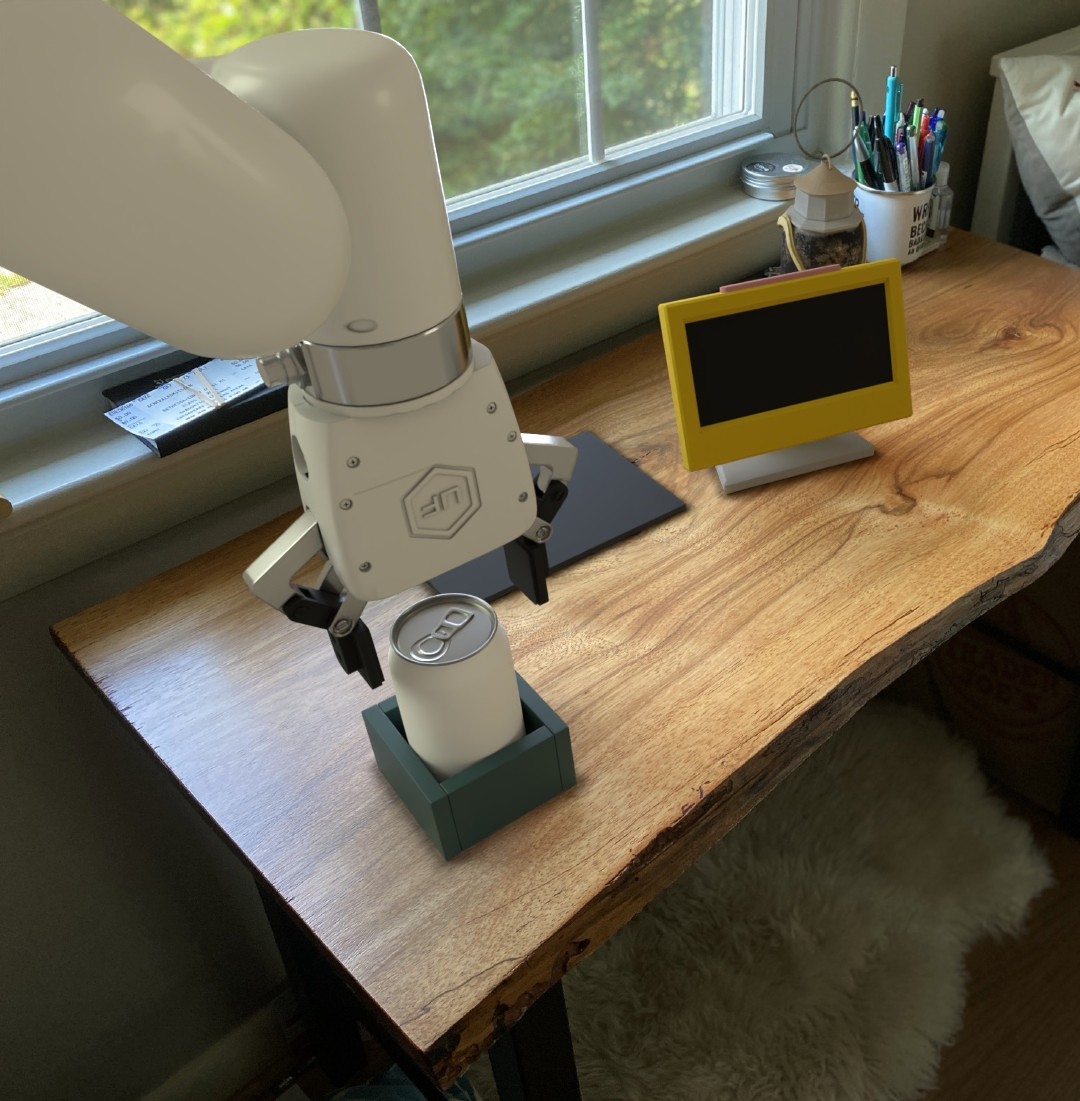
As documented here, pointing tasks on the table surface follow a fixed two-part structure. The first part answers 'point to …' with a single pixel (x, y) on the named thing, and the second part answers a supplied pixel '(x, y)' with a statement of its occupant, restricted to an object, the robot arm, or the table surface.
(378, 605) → the table surface
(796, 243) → the lantern
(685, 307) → the yellow framed monitor
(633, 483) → the mat
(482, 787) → the box
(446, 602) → the can
